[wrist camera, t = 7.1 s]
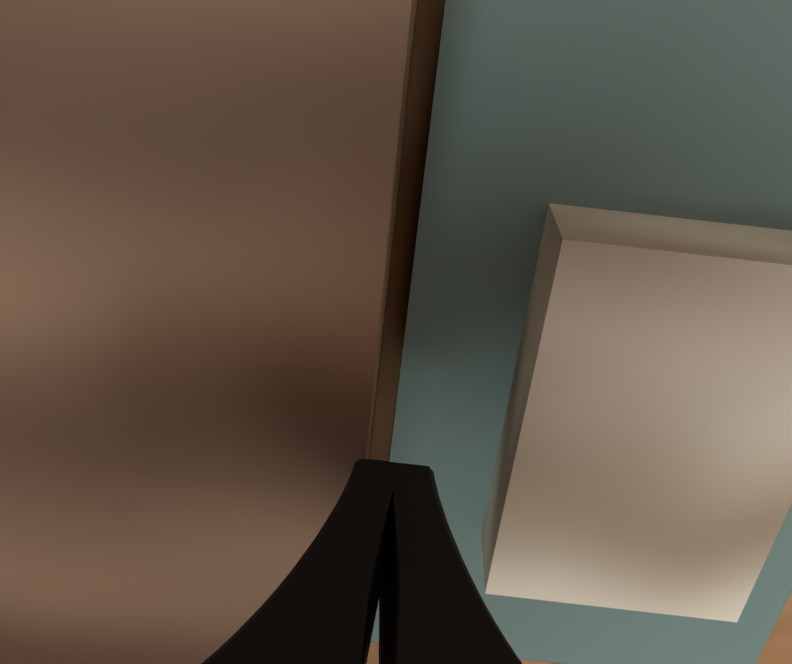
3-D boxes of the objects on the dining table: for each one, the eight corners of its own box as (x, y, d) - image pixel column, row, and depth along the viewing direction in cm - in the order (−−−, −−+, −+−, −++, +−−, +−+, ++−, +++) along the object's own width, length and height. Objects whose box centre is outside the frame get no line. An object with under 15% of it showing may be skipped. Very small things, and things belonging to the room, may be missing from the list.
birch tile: (485, 593, 18) (480, 533, 19) (736, 622, 18) (710, 559, 19) (562, 239, 13) (548, 203, 15) (896, 276, 13) (843, 236, 15)
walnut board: (351, 627, 22) (334, 760, 19) (-54, 580, 22) (-148, 705, 19) (423, -60, 13) (417, -54, 10) (-241, -136, 13) (-484, -158, 10)
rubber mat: (740, 672, 22) (745, 684, 22) (368, 629, 22) (367, 641, 22) (1061, 14, 13) (1078, 16, 13) (451, -56, 13) (452, -56, 13)
